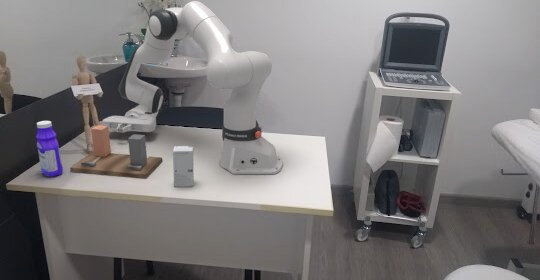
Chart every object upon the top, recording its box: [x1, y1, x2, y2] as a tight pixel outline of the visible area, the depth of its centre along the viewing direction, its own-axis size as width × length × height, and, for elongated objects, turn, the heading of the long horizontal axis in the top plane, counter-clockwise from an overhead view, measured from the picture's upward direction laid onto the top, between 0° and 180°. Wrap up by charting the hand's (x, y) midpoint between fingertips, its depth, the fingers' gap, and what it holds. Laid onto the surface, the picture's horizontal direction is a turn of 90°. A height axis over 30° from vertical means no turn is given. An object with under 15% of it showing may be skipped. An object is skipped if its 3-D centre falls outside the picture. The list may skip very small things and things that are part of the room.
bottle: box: [35, 120, 64, 178], centre depth 129 cm, size 7×6×17 cm
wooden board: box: [69, 151, 163, 179], centre depth 138 cm, size 26×14×3 cm, turn 83°
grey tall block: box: [127, 133, 148, 167], centre depth 135 cm, size 4×4×10 cm
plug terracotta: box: [90, 124, 112, 157], centre depth 142 cm, size 4×4×10 cm
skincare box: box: [172, 145, 195, 188], centre depth 126 cm, size 6×4×12 cm
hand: (120, 130), depth 155 cm, fingers closed
